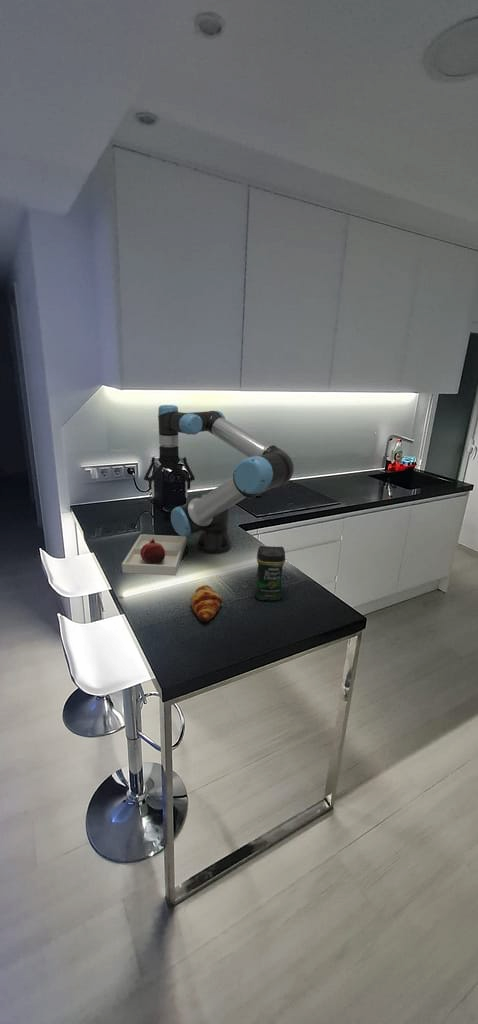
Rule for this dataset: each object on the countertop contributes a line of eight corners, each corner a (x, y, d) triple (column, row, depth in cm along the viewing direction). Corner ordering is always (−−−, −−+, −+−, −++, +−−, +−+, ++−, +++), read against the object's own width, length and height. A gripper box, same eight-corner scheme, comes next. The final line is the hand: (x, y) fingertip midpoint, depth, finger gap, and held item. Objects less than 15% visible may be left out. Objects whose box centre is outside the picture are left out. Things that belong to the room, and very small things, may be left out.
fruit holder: (186, 543, 186) (186, 536, 185) (175, 575, 159) (175, 566, 158) (140, 541, 186) (140, 534, 185) (122, 572, 159) (121, 564, 158)
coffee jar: (254, 602, 144) (258, 552, 138) (253, 590, 151) (256, 542, 145) (283, 602, 145) (287, 552, 138) (280, 590, 152) (284, 542, 146)
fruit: (159, 569, 161) (159, 545, 157) (136, 565, 163) (135, 541, 159) (169, 559, 169) (169, 536, 166) (147, 555, 171) (146, 532, 168)
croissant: (197, 599, 150) (187, 581, 148) (223, 587, 150) (212, 569, 147) (196, 635, 130) (184, 615, 128) (226, 621, 130) (214, 601, 127)
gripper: (200, 444, 174) (200, 494, 181) (137, 443, 171) (140, 494, 178) (200, 447, 167) (200, 499, 173) (135, 446, 164) (138, 499, 171)
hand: (169, 496), depth 176 cm, fingers open, 13 cm apart
